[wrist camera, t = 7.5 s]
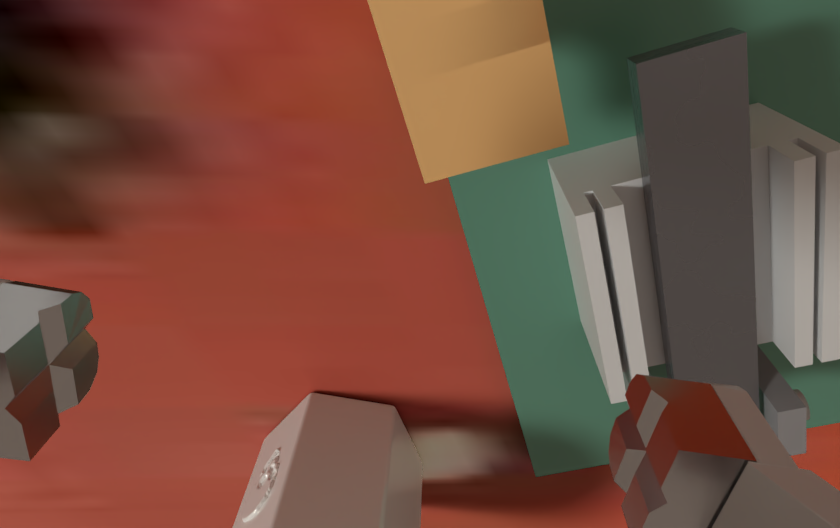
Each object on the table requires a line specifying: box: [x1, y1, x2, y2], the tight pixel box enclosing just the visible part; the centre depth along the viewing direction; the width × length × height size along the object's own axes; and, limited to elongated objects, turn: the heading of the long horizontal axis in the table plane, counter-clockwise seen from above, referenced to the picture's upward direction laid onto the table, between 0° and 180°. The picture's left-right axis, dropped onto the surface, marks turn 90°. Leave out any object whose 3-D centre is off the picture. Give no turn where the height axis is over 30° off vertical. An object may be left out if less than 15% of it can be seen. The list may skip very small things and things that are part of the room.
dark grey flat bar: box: [626, 27, 760, 410], centre depth 21 cm, size 16×3×1 cm, turn 17°
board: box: [448, 0, 840, 477], centre depth 23 cm, size 27×16×7 cm, turn 17°
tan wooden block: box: [368, 0, 569, 184], centre depth 18 cm, size 6×4×7 cm
